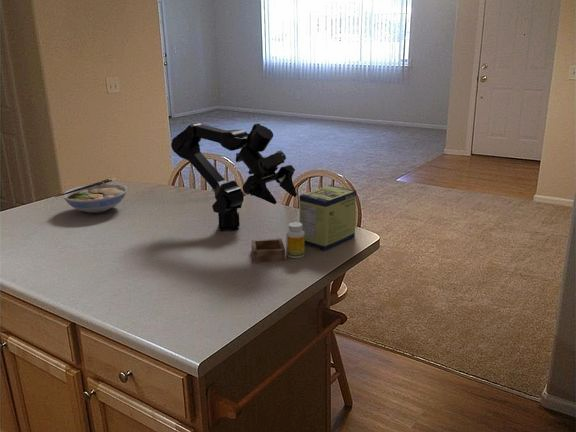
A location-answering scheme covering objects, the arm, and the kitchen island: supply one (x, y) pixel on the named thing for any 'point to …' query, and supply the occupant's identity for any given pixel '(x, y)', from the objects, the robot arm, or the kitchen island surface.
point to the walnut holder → (268, 250)
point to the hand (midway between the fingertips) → (286, 199)
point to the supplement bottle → (295, 240)
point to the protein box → (328, 216)
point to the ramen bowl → (95, 196)
